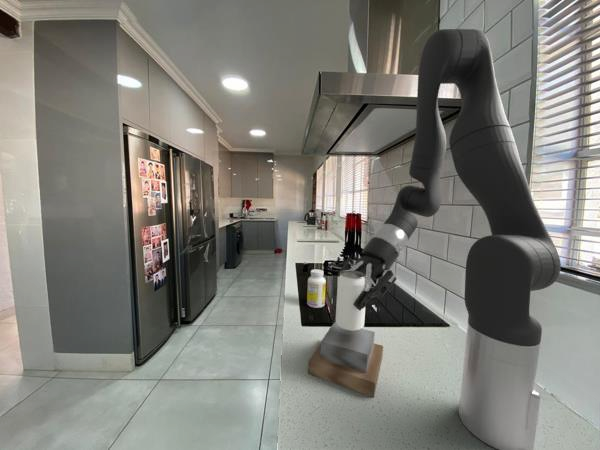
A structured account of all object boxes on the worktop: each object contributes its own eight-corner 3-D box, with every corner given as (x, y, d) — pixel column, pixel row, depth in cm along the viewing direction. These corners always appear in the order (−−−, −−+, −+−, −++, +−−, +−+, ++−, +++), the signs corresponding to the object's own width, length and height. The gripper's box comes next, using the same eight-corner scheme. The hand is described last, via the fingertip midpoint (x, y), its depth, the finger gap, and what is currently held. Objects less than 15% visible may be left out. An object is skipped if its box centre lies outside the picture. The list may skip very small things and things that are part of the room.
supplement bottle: (320, 300, 93) (322, 268, 92) (327, 307, 87) (329, 273, 86) (304, 301, 91) (305, 268, 90) (310, 309, 85) (311, 273, 84)
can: (343, 333, 51) (346, 279, 50) (331, 319, 58) (333, 270, 56) (369, 330, 53) (373, 277, 52) (355, 316, 59) (358, 269, 58)
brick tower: (382, 357, 59) (384, 330, 59) (373, 397, 47) (376, 363, 46) (328, 341, 65) (329, 316, 65) (307, 373, 53) (309, 342, 52)
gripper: (356, 232, 63) (318, 282, 58) (405, 241, 51) (361, 304, 46) (369, 250, 67) (334, 299, 62) (417, 263, 54) (378, 324, 49)
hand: (345, 301), depth 54 cm, fingers closed on can, 6 cm apart
